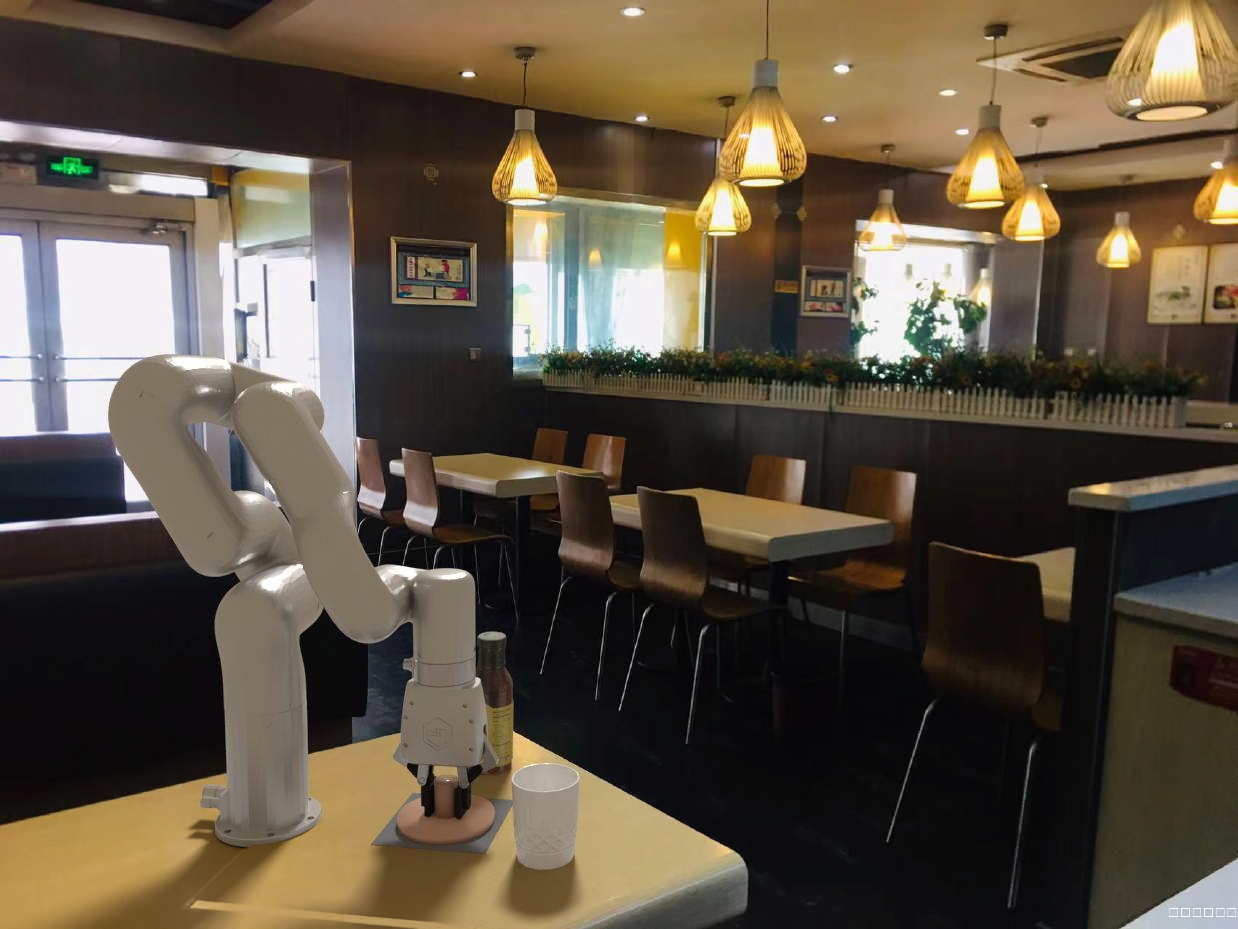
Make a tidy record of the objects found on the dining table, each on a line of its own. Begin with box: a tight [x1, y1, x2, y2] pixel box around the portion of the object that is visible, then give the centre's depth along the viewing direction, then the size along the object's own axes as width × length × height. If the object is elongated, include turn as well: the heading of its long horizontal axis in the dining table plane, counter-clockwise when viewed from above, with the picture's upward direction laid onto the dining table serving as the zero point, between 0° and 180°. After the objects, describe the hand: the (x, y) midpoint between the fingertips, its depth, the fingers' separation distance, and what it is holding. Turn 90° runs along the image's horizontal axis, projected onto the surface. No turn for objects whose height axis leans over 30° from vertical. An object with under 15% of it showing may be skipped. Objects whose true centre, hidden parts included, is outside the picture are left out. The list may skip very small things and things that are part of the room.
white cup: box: [510, 762, 580, 871], centre depth 110 cm, size 8×8×10 cm
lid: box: [397, 774, 495, 845], centre depth 118 cm, size 12×12×5 cm
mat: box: [370, 792, 513, 855], centre depth 118 cm, size 14×14×1 cm
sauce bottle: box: [476, 631, 514, 776], centre depth 134 cm, size 7×6×20 cm
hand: (446, 811), depth 118 cm, fingers open, 3 cm apart
